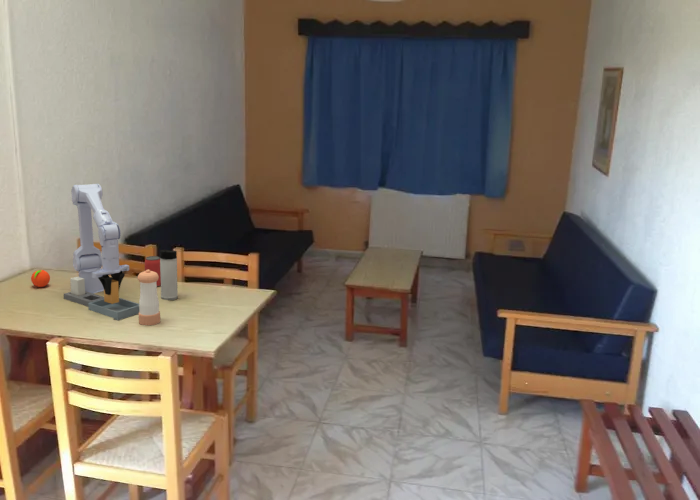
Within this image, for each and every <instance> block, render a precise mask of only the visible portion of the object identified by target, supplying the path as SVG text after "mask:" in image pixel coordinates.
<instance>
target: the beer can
mask: <svg viewBox="0 0 700 500" xmlns="http://www.w3.org/2000/svg"><path fill="white" fill-rule="evenodd" d="M146 270H150V271H153V272H156V273H157V274H158V276H159V278H158V281H156V283H157V287H161V272H160V256H156V255H150V256H146V257H145V260H144V271H146Z"/></svg>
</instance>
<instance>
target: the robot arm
mask: <svg viewBox="0 0 700 500" xmlns="http://www.w3.org/2000/svg"><path fill="white" fill-rule="evenodd" d="M102 197H103V188H102V185H101V184H99V183H91V184H90V183H89V184H88V183H87V184H73V185H72V187H71V201H72V205H73V206H76V207H77V215H78V216H77V217H78V231H79V241H80V246H79V247H77V249H75V250H74V251H73V253H72V254H73V258H72V265H73V269H74V270H75V271H76V272H78V277H80V278H83V279H84V280H85V291H86V292H90V293H93V294H97V293H101V292H104V290H105V294H107V295H111V282H112V279H113V280H116V281H118V287H119V290H120V288H121V284H122V282H123V279H124V277H125V276H126V275H125V273H124V272H125V271H126V272H128V271H130V265H129V264H122V265H120V254H119V252H120V251H119V250H120V249H119V240H120V239H121V237H122V236H121V235H122V234H121V228H120V224H118V223H117V222H116V221H114V220H113V219H112V218H113V217H111V213H110V212H109V211H108V210H106V209H105V208H104V205H103V202H102V199H103V198H102ZM92 212H93V216H92ZM93 220H94V223H95V225H96V227H97V235H98V238H99V245H100V246H101V249H99V248H98V247H96V246H95V245H94V233H93V232H94V230H93Z"/></svg>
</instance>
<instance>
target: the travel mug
mask: <svg viewBox="0 0 700 500" xmlns="http://www.w3.org/2000/svg"><path fill="white" fill-rule="evenodd" d="M177 254H178V252H177V250H171V249H160V250H159V255H160V256H159V257H160V258H159V259H160V272H161V285H160V298H161V299H162V300H164V301H169V300H173V301H176V300H178V296H179V295H178V293H179V292H178V257H177V256H178V255H177ZM175 299H176V300H175Z"/></svg>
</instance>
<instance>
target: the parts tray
mask: <svg viewBox="0 0 700 500" xmlns="http://www.w3.org/2000/svg"><path fill="white" fill-rule="evenodd" d="M87 307H88V311H92V312H94V313H98V314H100V315H103V316H107V317H109V318H112V319H113V320H115V321H120V320H121V321H122V320H124V319H126V318H130V317H132V316H133V317H134V316H136V315H139V312H140V310H139V303H138V302H135V301H131V300H128V299H124V298H121V297H119V302H117V303H114V304H111V303H108V302H104V299H101V300H98V301H94V302H91V303H88V306H87Z"/></svg>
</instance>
